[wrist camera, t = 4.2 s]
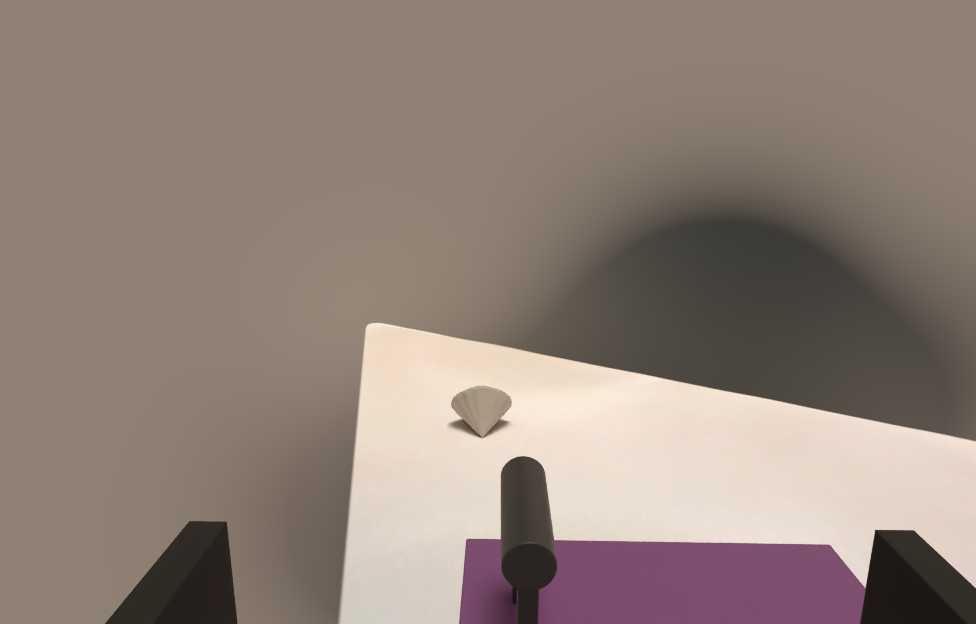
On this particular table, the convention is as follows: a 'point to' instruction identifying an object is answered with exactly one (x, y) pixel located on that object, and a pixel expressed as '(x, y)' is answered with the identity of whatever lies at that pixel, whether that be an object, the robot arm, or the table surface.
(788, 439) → the table surface
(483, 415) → the gemstone
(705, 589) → the lid
